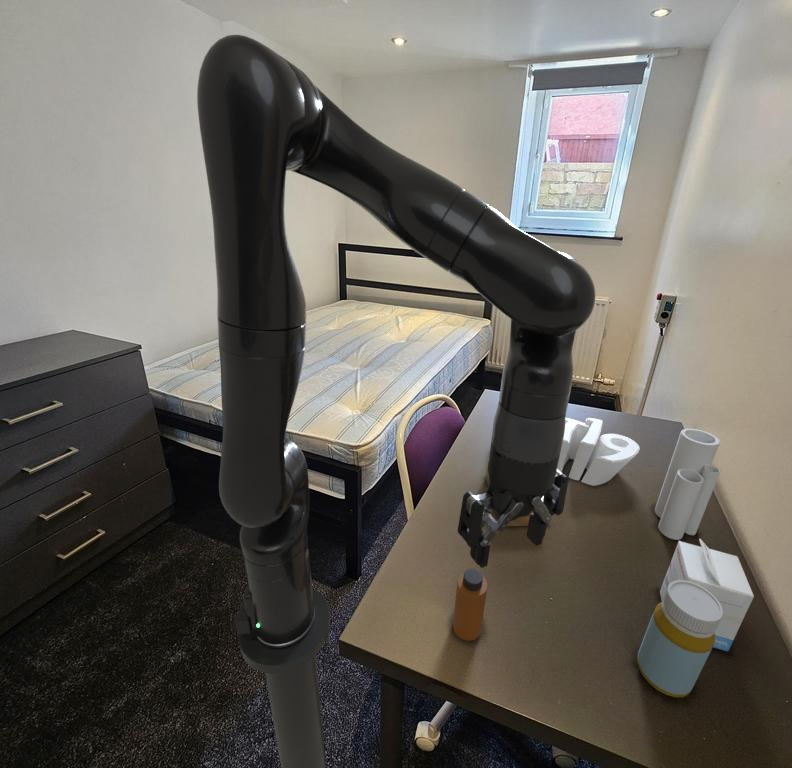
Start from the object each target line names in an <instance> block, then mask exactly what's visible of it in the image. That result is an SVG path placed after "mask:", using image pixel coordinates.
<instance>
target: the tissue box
mask: <svg viewBox="0 0 792 768" xmlns="http://www.w3.org/2000/svg"><path fill="white" fill-rule="evenodd" d="M698 540H699V544H700V545H697V544H693V543H688V542H685V541H681V540H678V542H677V544H676V548H675V550H674V553H673V555H672V558H671V561H670V563H669V566H668V568H667V571H666V574H665V577H664V579H663V582H662V585H661V588H660V590H659V595H660V600H661V602H662V601H663V598H664V595H665V592H666V590H667V587H668V585H669V584H670V583H671V582H673V581H675V580H686V581H690V582H693V583H696V584H698V585H700V586H702V587H703V588H705V589H706V590H708V591H709V592H710V593H712V594H713V595H714V596H715V597H716V598H717V600H718V601H719V602H720V604H721V606H722V609H723V616H722V619H721V621H720V623H719V625H718V627H717V629H716V631H715V643H714V646H713V648H714V649H718V650H721V651H724V652H729V651H730V649H731V647H732V644H733V642H734V640H735V638H736V637H737V634H738V631H739V629H740V628H741V625H742V624H743V621H744V619H745V616H746V615H747V613H748V610H749V608H750V606H751V603H752V602H753V600H754V597H755V595H754V593H753V590H752V587H751V586H750V583H749V581H748V578H747V576H746V574H745V573H746V572H745V571H744V569H743V566H742V564H741V561H740V559H739V557H738V556H737V555H734V554H730V553H727V552H723V551H719V550H716V549H712V548H709V547H708V546H707V545H706V543H705V542H704V541H703V540H702V539H701V538H698Z"/></svg>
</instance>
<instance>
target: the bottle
mask: <svg viewBox="0 0 792 768" xmlns="http://www.w3.org/2000/svg"><path fill="white" fill-rule="evenodd" d="M722 616H723V609H722V606H721V604H720V602H719V601H718V600H717V598H716V597H715V596H714V595H713V594H712V593H710V592H709V591H708V590H706V589H705V588H703V587H702V586H700V585H698V584H696V583H693V582H690V581H686V580H675V581H673V582H671V583H670V584H669V585H668V587H667V590H666V592H665V595H664V598H663V601H662V600H661V601H660V602H659V603H658V604H657V605H656V606H655V608H654V610H653V613H652V615H651V617H650V620H649V623H648V625H647V628H646V631H645V634H644V637H643V639H642V641H641V643H640V647H639V649H638V651H637V656H636V663H637V668H638V669H639V671H640V674H641V675H642V677H643V678H644V679H645V680H646V681H647V682H648V684H649V685H650V686H652V687H653V689H654V688H655V690H656V691H658V692H660V693H662V694H663V695H666V696H669V697H672V698H685V697H686V696H689V694H690V693H691V692H692V690H693V688H694V687H695V684H696V682H697V680H698V678H699V677H700V675H701V672H702V670H703V668H704V666H705V664H706V662H707V660H708V659H709V656H710V654H711V652H712V650H713V648H714V647H713V646H714V643H715V631H716V629H717V627H718V625H719V623H720V621H721V619H722Z"/></svg>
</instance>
